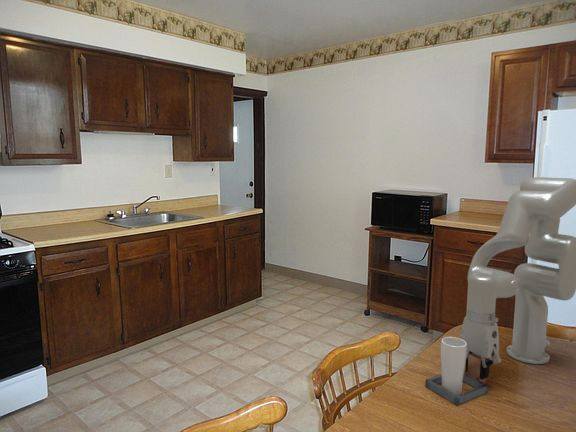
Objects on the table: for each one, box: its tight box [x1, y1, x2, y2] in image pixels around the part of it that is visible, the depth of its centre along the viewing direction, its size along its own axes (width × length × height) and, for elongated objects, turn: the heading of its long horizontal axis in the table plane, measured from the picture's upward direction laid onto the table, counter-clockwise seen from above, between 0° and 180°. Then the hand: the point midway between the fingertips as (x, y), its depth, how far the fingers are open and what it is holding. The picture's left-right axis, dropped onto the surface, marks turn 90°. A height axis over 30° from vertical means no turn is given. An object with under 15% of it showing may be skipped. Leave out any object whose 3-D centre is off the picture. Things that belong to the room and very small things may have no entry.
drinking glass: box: [440, 336, 467, 395], centre depth 117 cm, size 7×7×15 cm
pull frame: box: [424, 353, 489, 406], centre depth 119 cm, size 17×11×8 cm, turn 119°
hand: (476, 374), depth 123 cm, fingers closed on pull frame, 4 cm apart
